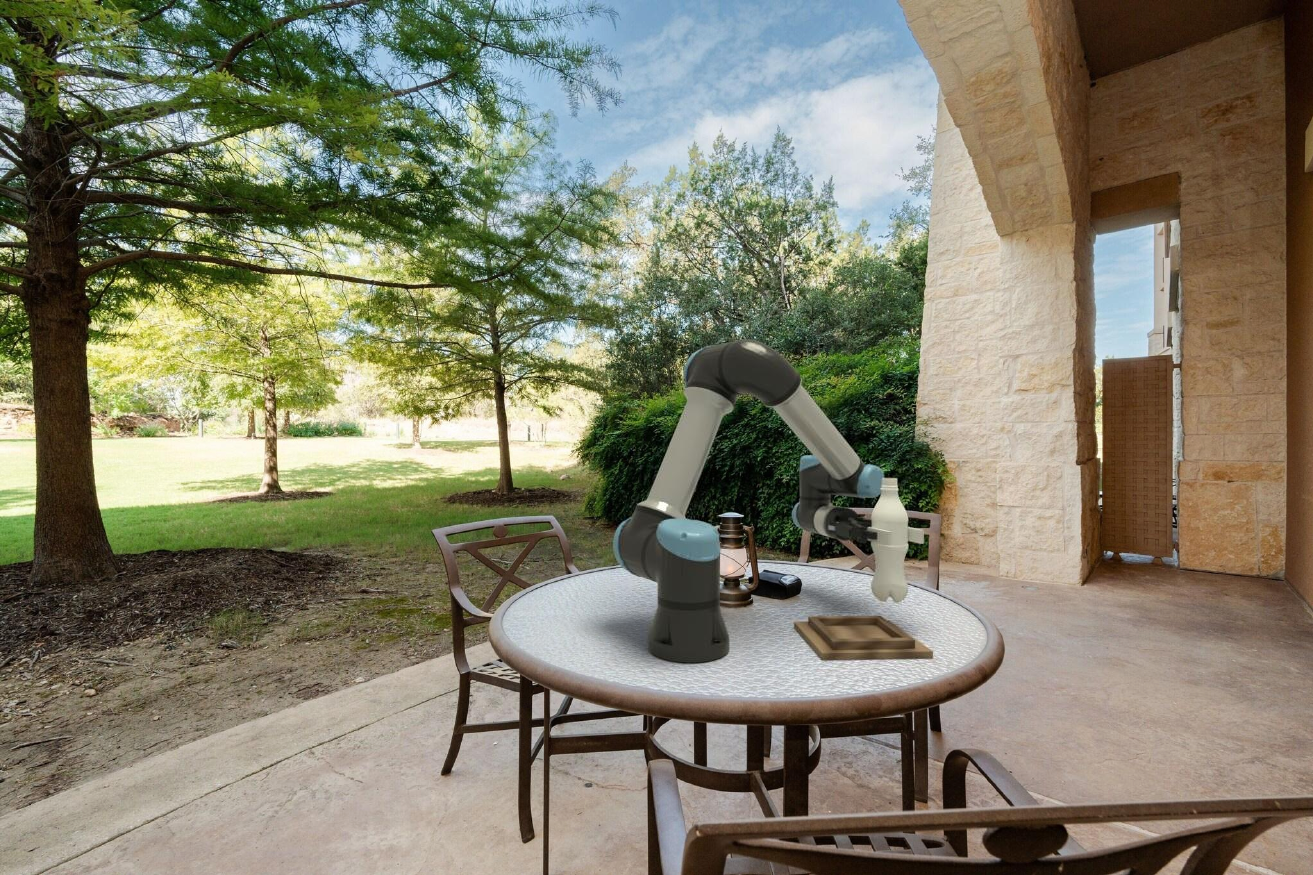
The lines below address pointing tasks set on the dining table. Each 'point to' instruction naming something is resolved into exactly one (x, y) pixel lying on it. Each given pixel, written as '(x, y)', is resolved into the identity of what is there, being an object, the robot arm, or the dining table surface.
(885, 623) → the walnut tray
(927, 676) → the dining table surface
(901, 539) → the water bottle
